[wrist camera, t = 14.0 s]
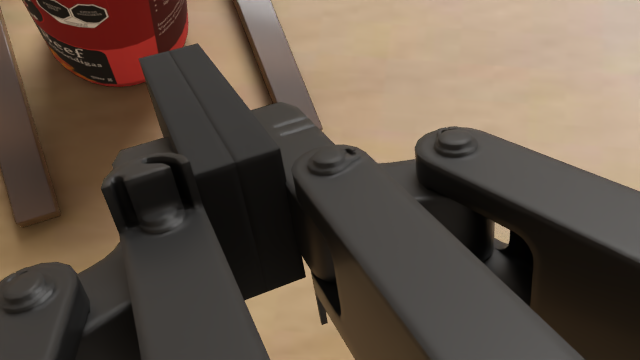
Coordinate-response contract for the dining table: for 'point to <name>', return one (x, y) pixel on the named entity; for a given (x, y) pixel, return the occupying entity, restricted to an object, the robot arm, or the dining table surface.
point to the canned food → (109, 35)
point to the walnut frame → (21, 136)
